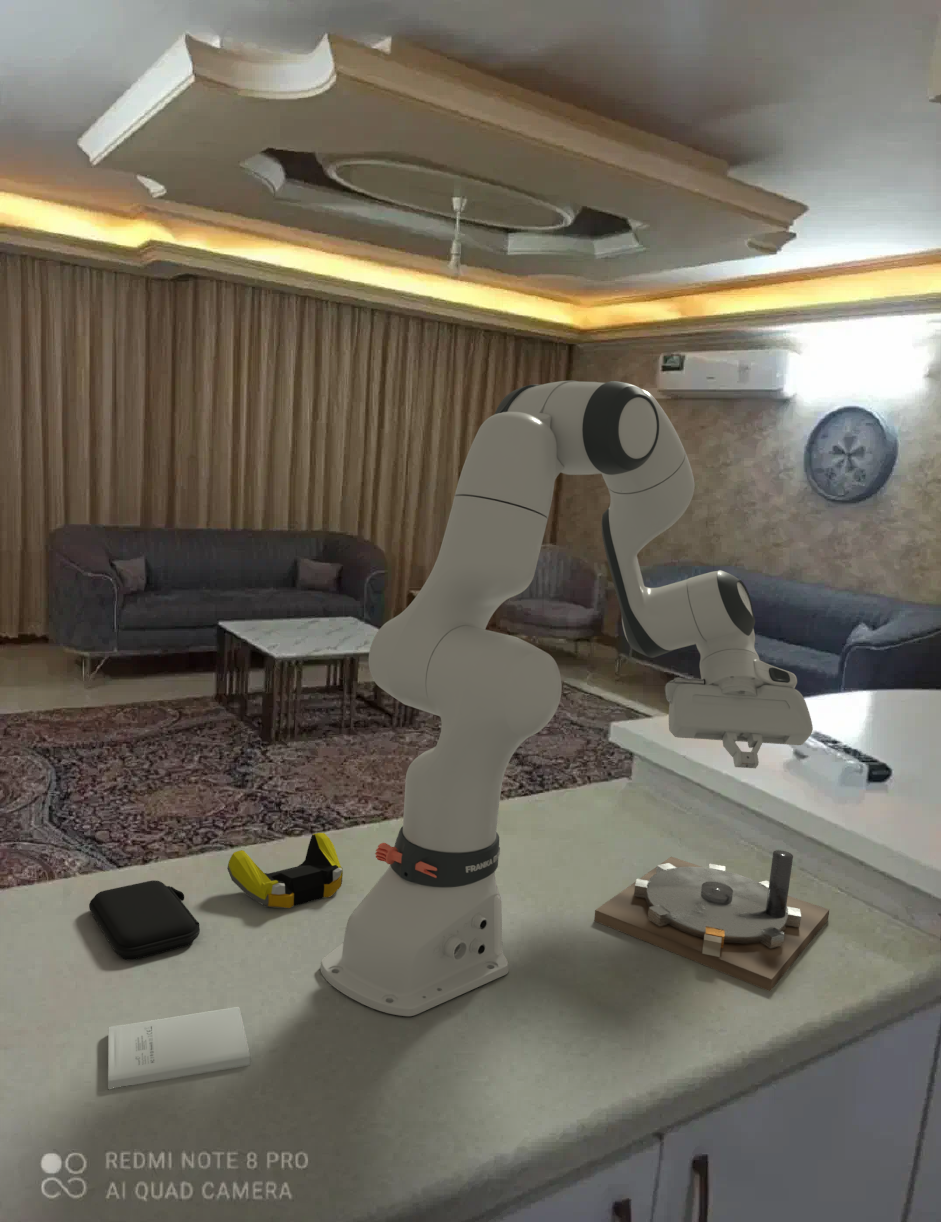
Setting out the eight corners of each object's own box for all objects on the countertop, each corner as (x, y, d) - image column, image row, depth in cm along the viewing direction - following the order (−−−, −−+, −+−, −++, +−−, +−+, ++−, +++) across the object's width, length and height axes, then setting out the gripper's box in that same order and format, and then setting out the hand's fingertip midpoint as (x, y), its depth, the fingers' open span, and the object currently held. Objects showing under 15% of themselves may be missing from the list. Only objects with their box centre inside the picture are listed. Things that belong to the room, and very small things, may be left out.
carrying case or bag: (213, 945, 106) (172, 892, 118) (214, 921, 106) (172, 870, 117) (119, 970, 100) (85, 912, 112) (119, 944, 100) (85, 889, 111)
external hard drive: (249, 1070, 86) (107, 1094, 81) (238, 1019, 93) (108, 1038, 89) (250, 1054, 85) (107, 1078, 81) (239, 1004, 93) (108, 1023, 88)
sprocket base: (769, 992, 104) (772, 965, 104) (593, 921, 118) (595, 897, 117) (828, 919, 123) (831, 897, 122) (670, 865, 136) (672, 845, 136)
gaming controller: (222, 889, 119) (255, 921, 112) (223, 849, 119) (257, 879, 111) (322, 864, 129) (360, 892, 121) (324, 827, 128) (362, 853, 120)
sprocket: (670, 950, 108) (678, 875, 107) (616, 873, 128) (622, 809, 127) (828, 947, 112) (839, 874, 110) (751, 872, 132) (759, 809, 130)
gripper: (669, 665, 132) (679, 751, 124) (806, 675, 133) (826, 760, 125) (658, 688, 137) (667, 771, 129) (790, 697, 138) (808, 780, 130)
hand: (746, 766), depth 127 cm, fingers closed
